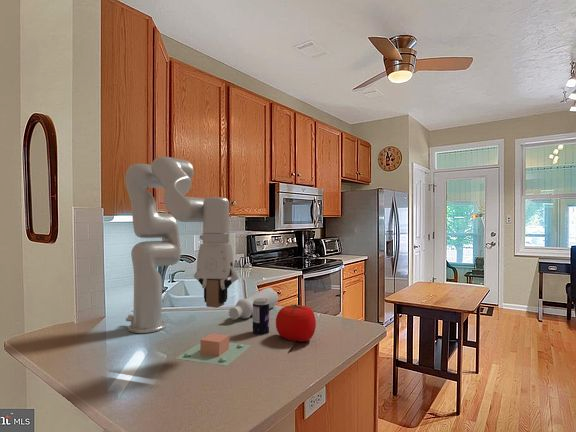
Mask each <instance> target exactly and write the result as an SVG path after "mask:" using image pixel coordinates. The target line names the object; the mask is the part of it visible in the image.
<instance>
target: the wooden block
mask: <svg viewBox="0 0 576 432" xmlns="http://www.w3.org/2000/svg"><path fill="white" fill-rule="evenodd" d="M220 289H221V284H220V279H207V280H206V302H205V305H206V307H207V308H220V307H222V306H224V305H225V302H224V303H222V304H220V303H219V290H220Z"/></svg>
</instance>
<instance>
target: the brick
mask: <svg viewBox="0 0 576 432" xmlns="http://www.w3.org/2000/svg"><path fill="white" fill-rule="evenodd" d="M199 343H200V354H204V355H212V356H220V355H222V354H223V353H224V352H226V351H227V350H228V349H229V343H230V335H227V334H219V333H210V334H208V335H206V336H205V337H203V338H201V339H200V342H199Z"/></svg>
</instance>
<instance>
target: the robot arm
mask: <svg viewBox="0 0 576 432" xmlns="http://www.w3.org/2000/svg"><path fill="white" fill-rule="evenodd" d="M194 172H195V171H194V167H193V164H192V163H191V162H190V161H188V160H186V159H181V158H176V157H170V156H159V157H156V158H155V159H154V160H153V161H152V163H151V164H147V163H135V164H131V165H130V166H129V167H128V168H127V170H126V174H125V178H124V179H125V188H126V191H127V194H128V196H129V200H130V205H131V215H132V227H133V232H134V234H135V236H136V237H137V238H142V239H155V238H156V239H158V238H159V239H160V238H161V240H148V241H141V242H138V243H136V244H135V245H134V246H133V247H132V249H131V261H132V269H133V314H128V315H127V316H126V318H125V322H130V325H129V326H128V332H130V333H135V334H147V333H148V334H149V333H154V332H158V331H161V330H164V329H165V328H166V326H167V324H166V322H165V321H163V320H162V318H163V317H162V312H163V311H162V308H163V307H162V306H163V304H162V303H163V302H162V301H163V298H162V297H163V296H162V295H163V279H162V275H161V274H160V272H159V271H158V269H157V268H158V267H166V266H168V267H169V266H173V265H176V264H177V263H179V261H180V259H181V253H182V251H181V242H180V233H179V232H180V231H179V226H178V225H179V224H178V221H179V222H182V223H202V234H201V235H199V240H201V241H202V243H200V245H199V248H198V252H197V253H198V254H197V260H196V272H195V273H194V275H193V278H194V279H196V281H198V282H199V284H200V285H201V287H202V289H203V299H204V303H206V280H207V279H220V284H221V289H220V290H219V303H220V304H222V303H224V304H225V303H227V300H228V289H230V286H231V285H232V284H233V283H235V282H236V281H237V280H239V275H238V274H237V273H236V271H235V269H234V268H235V267H234V266H235V265H234V264H235V263H234V253H233V247H232V244H231V243H230V201H229V200H228V198H226V197H219V196H209V197H197V196H196V197H193V196H185V195H187V194H188V193H189V192H190V190H191V188H192V179H193V178H194V175H195V174H194ZM147 188H152V189H161V190H162V189H163V190H164V195H163V201H164V206H165V208H166V210H167V211H168V212H169V213H167V212H158V209H157V202H156V199H155V197H154V196H153V194H152V193H151V192H150V191H149V189H147Z"/></svg>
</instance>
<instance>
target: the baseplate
mask: <svg viewBox="0 0 576 432" xmlns="http://www.w3.org/2000/svg"><path fill="white" fill-rule="evenodd" d="M251 346H252V345H251V344H244V343H235V342H229V349H228V350H227V351H226V352H224V353H223V354H222V355H220V356H212V355H204V354H200V342H199V343H197V344H196V345H194V346H192V347H191V348H190V349H187V350H186V351H184V352H182V353H181V354H179V355H178V356H176V357H175V358H174V359H175V360H180V361H181V360H183V361H189V362H198V363H204V364H211V365H217V366H223V367H224V366H225V367H228V366H229V365H230V364H231V363H232V362H233V361H235V360H236V359H237V358H238V357H240V355H242V354H243V353H244V352H246V351H247V350H248V349H249V348H250V347H251Z"/></svg>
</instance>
